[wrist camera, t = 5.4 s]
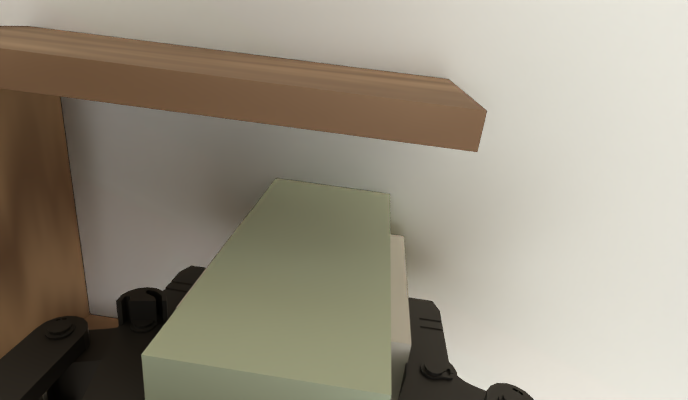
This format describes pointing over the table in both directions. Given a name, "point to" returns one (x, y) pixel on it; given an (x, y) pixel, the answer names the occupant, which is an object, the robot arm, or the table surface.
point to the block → (286, 305)
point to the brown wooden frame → (171, 95)
